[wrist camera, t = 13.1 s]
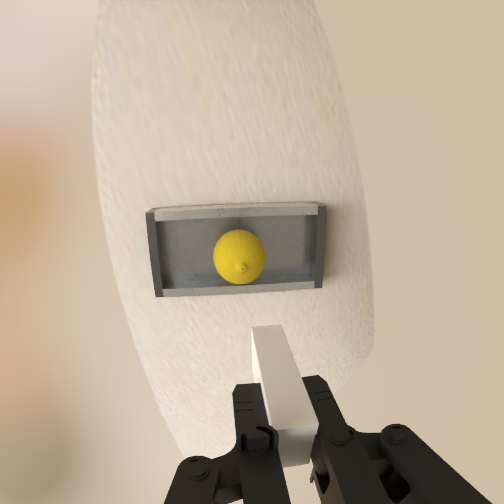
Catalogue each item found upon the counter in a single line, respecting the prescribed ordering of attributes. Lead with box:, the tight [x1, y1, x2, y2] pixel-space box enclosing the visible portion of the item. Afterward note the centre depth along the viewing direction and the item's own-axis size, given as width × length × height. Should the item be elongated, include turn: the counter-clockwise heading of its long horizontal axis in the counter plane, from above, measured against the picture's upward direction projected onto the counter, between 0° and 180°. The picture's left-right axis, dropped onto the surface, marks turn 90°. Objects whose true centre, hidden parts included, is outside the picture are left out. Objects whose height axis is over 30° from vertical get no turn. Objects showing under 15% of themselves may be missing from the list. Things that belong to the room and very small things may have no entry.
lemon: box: [213, 229, 266, 284], centre depth 31 cm, size 6×6×8 cm
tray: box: [146, 202, 326, 297], centre depth 34 cm, size 10×20×4 cm, turn 91°
